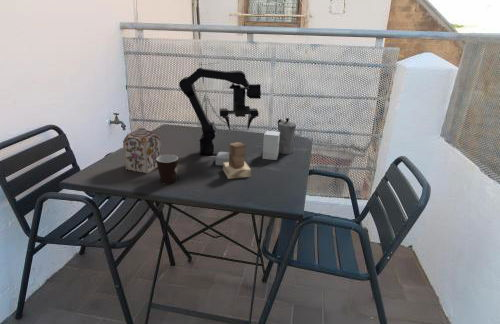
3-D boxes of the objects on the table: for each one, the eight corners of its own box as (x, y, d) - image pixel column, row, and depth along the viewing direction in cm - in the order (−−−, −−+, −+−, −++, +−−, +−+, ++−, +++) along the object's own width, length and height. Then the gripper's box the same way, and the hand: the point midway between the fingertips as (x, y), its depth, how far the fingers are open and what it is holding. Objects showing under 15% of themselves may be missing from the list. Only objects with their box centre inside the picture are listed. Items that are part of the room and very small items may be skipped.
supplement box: (276, 160, 164) (278, 135, 160) (262, 158, 166) (263, 134, 161) (278, 155, 171) (280, 131, 166) (264, 153, 172) (265, 130, 168)
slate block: (215, 165, 157) (215, 157, 155) (219, 159, 164) (219, 151, 163) (232, 166, 156) (232, 158, 154) (235, 160, 163) (235, 152, 162)
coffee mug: (168, 187, 133) (167, 164, 130) (153, 181, 138) (151, 159, 134) (188, 177, 143) (187, 155, 139) (173, 172, 147) (172, 151, 143)
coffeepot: (299, 154, 173) (302, 120, 167) (284, 156, 170) (286, 122, 163) (283, 145, 186) (286, 113, 180) (269, 147, 182) (270, 114, 176)
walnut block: (228, 165, 147) (229, 143, 143) (237, 162, 150) (238, 141, 146) (234, 168, 144) (235, 147, 140) (244, 166, 147) (245, 145, 143)
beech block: (228, 179, 143) (228, 171, 141) (223, 170, 152) (223, 162, 150) (250, 177, 146) (250, 169, 144) (244, 168, 154) (244, 160, 153)
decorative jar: (125, 169, 148) (120, 130, 141) (141, 160, 158) (138, 124, 151) (147, 174, 144) (144, 134, 138) (163, 164, 154) (160, 127, 148)
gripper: (220, 101, 151) (220, 134, 157) (261, 101, 154) (259, 134, 160) (219, 96, 162) (219, 127, 168) (257, 97, 164) (256, 127, 170)
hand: (238, 129), depth 166 cm, fingers open, 9 cm apart
